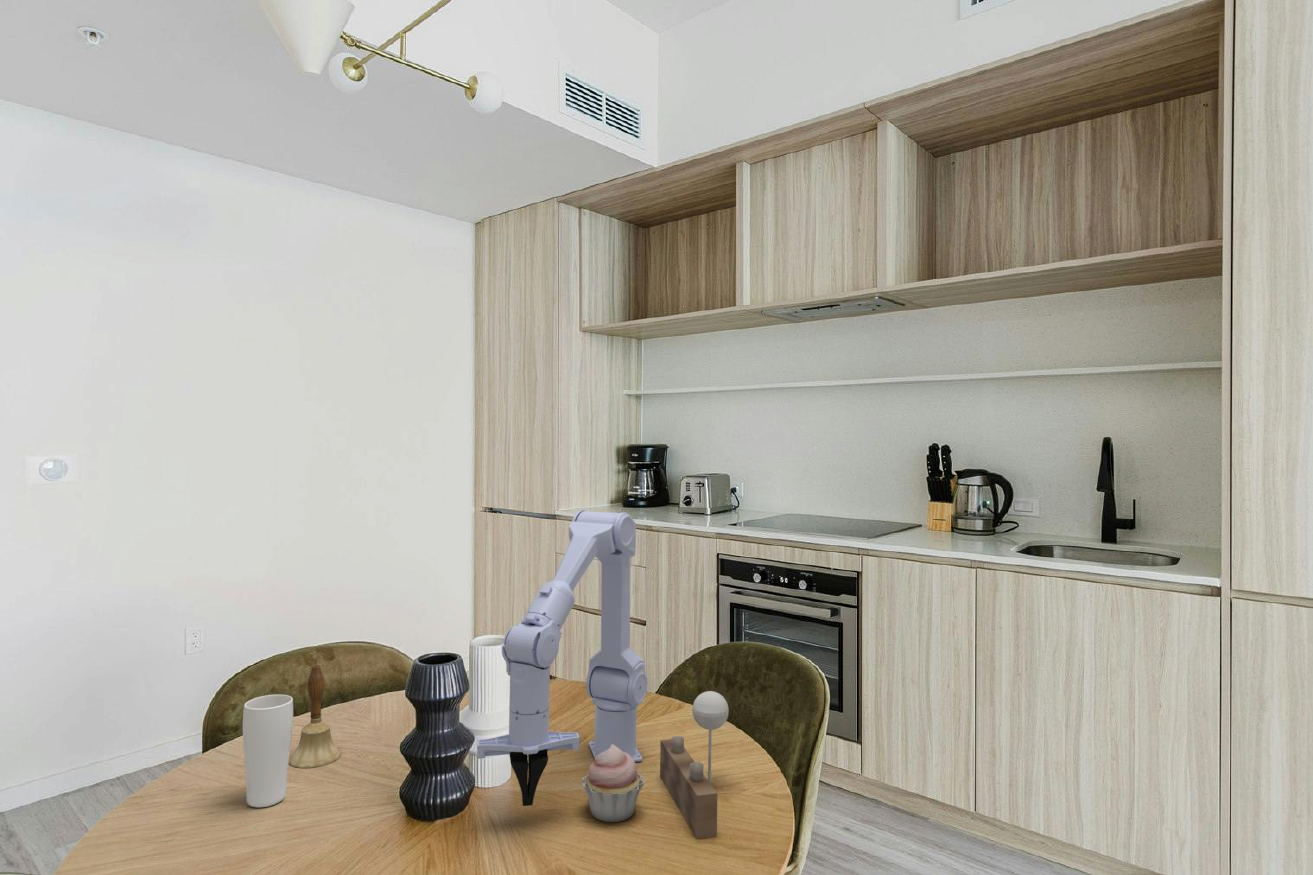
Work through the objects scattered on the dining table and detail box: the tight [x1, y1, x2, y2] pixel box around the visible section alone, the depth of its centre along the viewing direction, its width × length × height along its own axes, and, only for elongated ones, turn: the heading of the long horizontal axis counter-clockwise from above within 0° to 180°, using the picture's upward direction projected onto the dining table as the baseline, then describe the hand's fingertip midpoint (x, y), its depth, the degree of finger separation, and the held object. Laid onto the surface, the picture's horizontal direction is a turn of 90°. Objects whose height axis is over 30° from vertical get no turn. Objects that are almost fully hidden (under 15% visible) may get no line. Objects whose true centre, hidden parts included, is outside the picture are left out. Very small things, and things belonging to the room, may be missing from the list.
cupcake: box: [581, 744, 645, 823], centre depth 109 cm, size 9×9×10 cm
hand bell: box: [288, 664, 342, 769], centre depth 126 cm, size 8×8×16 cm
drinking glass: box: [242, 693, 294, 808], centre depth 111 cm, size 7×7×15 cm
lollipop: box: [691, 690, 730, 785], centre depth 118 cm, size 6×6×15 cm
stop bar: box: [659, 735, 718, 840], centre depth 112 cm, size 20×3×8 cm, turn 14°
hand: (527, 802), depth 106 cm, fingers closed
